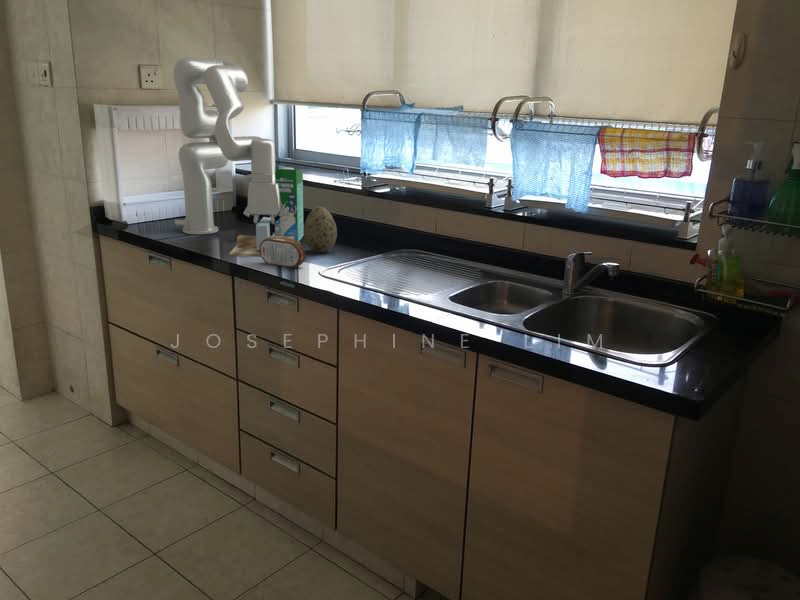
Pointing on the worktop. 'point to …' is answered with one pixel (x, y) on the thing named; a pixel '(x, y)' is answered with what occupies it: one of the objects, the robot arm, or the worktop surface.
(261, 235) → the pale blue notched block
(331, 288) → the worktop surface
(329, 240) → the decorative egg
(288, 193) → the milk carton
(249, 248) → the straw hat
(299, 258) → the tin
